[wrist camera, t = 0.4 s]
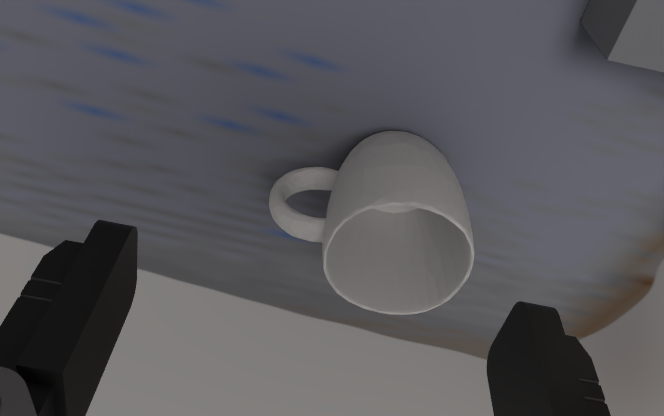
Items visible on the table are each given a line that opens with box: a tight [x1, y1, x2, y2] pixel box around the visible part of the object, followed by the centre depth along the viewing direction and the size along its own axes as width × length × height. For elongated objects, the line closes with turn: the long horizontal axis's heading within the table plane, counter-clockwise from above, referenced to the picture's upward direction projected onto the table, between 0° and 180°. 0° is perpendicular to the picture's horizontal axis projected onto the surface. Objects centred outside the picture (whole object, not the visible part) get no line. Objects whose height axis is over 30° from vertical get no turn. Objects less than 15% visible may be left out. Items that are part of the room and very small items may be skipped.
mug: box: [269, 131, 474, 315], centre depth 41 cm, size 13×9×10 cm
